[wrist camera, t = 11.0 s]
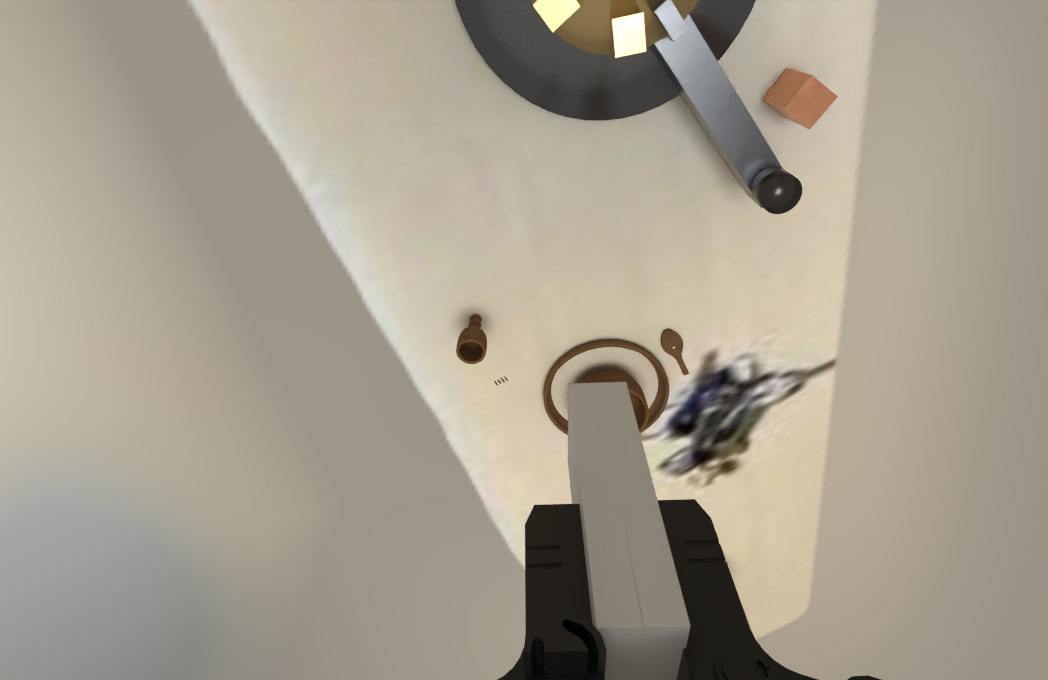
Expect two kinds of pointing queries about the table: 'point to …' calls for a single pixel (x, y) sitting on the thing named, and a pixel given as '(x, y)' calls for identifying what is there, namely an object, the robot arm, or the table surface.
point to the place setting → (474, 351)
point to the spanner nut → (681, 80)
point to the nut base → (613, 64)
